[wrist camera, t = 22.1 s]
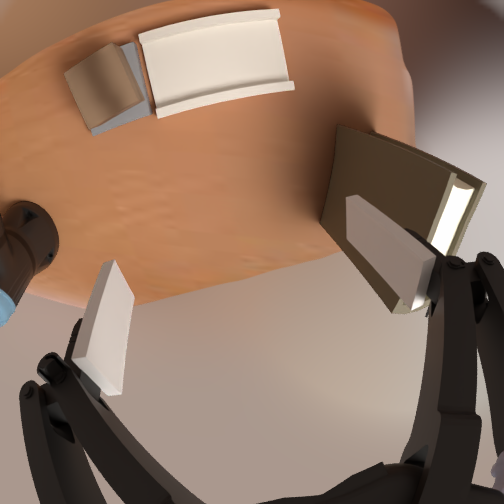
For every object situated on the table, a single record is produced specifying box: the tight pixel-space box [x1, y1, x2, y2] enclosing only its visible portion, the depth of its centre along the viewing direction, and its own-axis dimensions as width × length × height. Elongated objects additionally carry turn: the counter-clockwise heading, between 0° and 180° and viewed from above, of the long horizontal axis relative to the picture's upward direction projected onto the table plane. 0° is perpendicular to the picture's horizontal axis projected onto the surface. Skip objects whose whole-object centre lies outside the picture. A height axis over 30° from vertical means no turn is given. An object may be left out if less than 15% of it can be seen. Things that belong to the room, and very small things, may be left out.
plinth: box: [91, 42, 153, 136], centre depth 34 cm, size 10×13×3 cm
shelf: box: [138, 9, 295, 119], centre depth 35 cm, size 22×15×3 cm
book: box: [320, 125, 487, 314], centre depth 42 cm, size 22×9×28 cm, turn 176°
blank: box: [64, 42, 145, 130], centre depth 30 cm, size 8×10×6 cm
